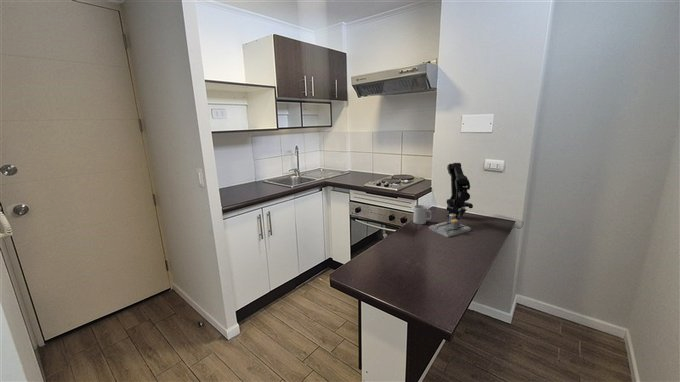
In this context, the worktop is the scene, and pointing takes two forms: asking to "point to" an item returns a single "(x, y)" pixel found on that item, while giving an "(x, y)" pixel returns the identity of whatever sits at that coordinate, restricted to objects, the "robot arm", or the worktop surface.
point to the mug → (421, 214)
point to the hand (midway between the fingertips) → (458, 219)
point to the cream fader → (451, 217)
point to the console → (448, 229)
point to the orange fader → (454, 224)
